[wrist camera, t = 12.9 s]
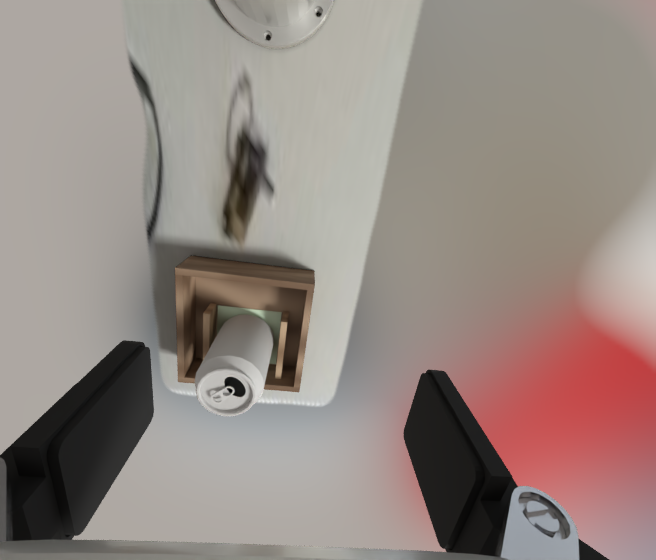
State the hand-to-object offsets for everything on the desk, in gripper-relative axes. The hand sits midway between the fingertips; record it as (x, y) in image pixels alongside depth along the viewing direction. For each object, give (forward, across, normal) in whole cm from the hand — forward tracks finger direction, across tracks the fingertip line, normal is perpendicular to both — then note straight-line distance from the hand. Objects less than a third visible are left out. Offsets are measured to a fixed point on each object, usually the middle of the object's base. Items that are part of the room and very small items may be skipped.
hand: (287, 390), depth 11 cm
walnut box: (+30, +6, +14) cm, 34 cm away
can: (+30, +6, +16) cm, 35 cm away
